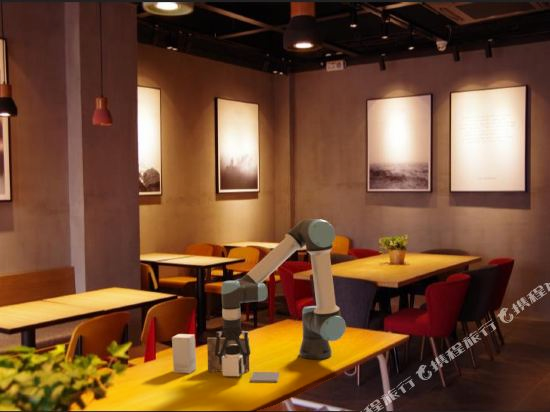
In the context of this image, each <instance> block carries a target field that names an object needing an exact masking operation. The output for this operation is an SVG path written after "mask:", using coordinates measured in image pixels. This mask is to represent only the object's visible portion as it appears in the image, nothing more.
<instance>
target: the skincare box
mask: <svg viewBox="0 0 550 412" xmlns="http://www.w3.org/2000/svg"><path fill="white" fill-rule="evenodd" d="M195 337H196V336H195V334H191V333H190V334H189V333H188V334H187V333H178V334H176V335H174V336H172V337H171V343H172V347H171V348H172V361H173V362H172V365H173V366H172V367H173V373H176V374H177V373H179V374H180V373H181V374H191V373H193V372H195V371H196V370H197V358H196V357H197V356H196V352H197V351H196V338H195Z"/></svg>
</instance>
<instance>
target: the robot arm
mask: <svg viewBox="0 0 550 412" xmlns="http://www.w3.org/2000/svg"><path fill="white" fill-rule="evenodd" d="M335 239H336V231H335V228H334V227H333V225H332V224H331V223H330V222H329V221H327V220H323V219H321V218H320V219H318V218H316V219H315V218H305V219H303V220H301V221H300V222H298V223H297V224H295V225H294V226H293V227H292V228H291V229H290V230H289V231H288V232H287V233H286V234H285V235H284V239H283V240H281V241H280V242H279V243H278V244H277V245H276V246H275V247H273V249H272V250H271V251H270V252H269V253H267V255H265V256H264V257H263V258H262V259H261V260H260V261H259V262H258V263H257V264H256V265H255V266H254V267H252V269H250V270H249V271H248V272H247V273H246V274H245V275H244V276H242V277H241V278H238V279H235V280H226V281H223V282H222V283H221V304H222V308H221V309H222V311H221V313H222V318H223V319H222V330H221V331H219V330H218V331H216V333H215V338H216V347H215V356H218V357H219V364H220V365H222V371H221V373H222V374H223V361H222V360H223V358H224V357H225V356H223V353H224V350H225V347H226V345H227V342H228V341H231V340H233V341H236V342H237V344H238V346H239V349H240V351H241V353H242V357H241V370H242V373H241V374H244V365H246V356H249V357H250V355H251V354H252V353H251V347H250V340H249V341H248V338H249V331H248V330H246V331H245V330H242V327H241V326H242V323H241V322H242V321H241V304H243V303H252V302H253V303H254V302H262V301H266V300H267V298H268V287H267V285H266V284H265V283H263V282H264V281H265V280H266V279H267V278H268V277H270V275H272V273H274V272H275V271H276V270H277V269H278V268H279V267H280V266H281V265H282V264H283V263H284V262H286V260H288V259H289V258H290V257H291V256H292V255H293V254H294V253H295V252H296V251H300V250H301V249H302V248H303V247H305V249H306V252H307V253H308V254H309V255H310V261H311V262H310V263H311V270H312V277H313V278H312V279H313V287H314V294H315V303H316V305H311V306H310V305H309V306H304V307H303V308H302V314H301V316H302V341H301V344H300V347H299V357H300V358H302V359H307V360H323V359H328V358H331V356H332V353H333V351H332V347H331V345H330V342H336V341H338V340H340V339H342V337H343V336H344V334H345V333H346V330H347V325H346V321H345V320H344V318H343V317H342V316H341V309H340V307H339V306H338V305H337V304H336V303H337V302H336V295H335V288H334V286H335V285H334V280H333V277H334V276H333V270H332V263H331V251H332V250H333V242H334V241H335ZM222 335H223V338H225V341H224V344H223V346H222V349H221V352H220V353H219V345H220V338H222V337H221V336H222ZM241 335H242V338H244V340H245V346H246V352H247V353H246V352H245V350H244V347H243V345H242V343H241V340H240V338H241V337H240V336H241Z"/></svg>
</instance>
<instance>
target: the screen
mask: <svg viewBox="0 0 550 412" xmlns="http://www.w3.org/2000/svg"><path fill="white" fill-rule="evenodd" d="M239 338H240V340H241V343H242V345H243V347H244V350H245V352H246V346H245V340H244V337H239ZM206 340H207V347H206V348H207V349H206V350H207V372H208V373H216V372H217V371H218V372H219V371H221V372H222V365H220V364H219V357H218V356H215V347H216V337H207V339H206ZM224 341H225V337H220V345H219V353H220V352H221V349H222V346H223V344H224ZM248 341H249V342H250V337H248ZM231 344H236V345H238V344H237V342H236V341H233V340H231V341H228V342H227V345H231ZM227 345H226V346H227ZM246 353H247V352H246ZM240 355H242V353H241V351H240ZM223 356H226V354H225V350H224V353H223ZM249 371H250V355H249V356H246V365H244V373H248V372H249ZM244 373H243V374H244Z"/></svg>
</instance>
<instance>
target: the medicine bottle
mask: <svg viewBox="0 0 550 412" xmlns="http://www.w3.org/2000/svg"><path fill="white" fill-rule="evenodd" d="M225 354H226V356H225V357H224V358H223V360H222V361H223V373H222V376H223V377H240V376H241V375H242V374H243V373H242V370H241V357H242V355H240V349H239V346H238V345H236V344H231V345H227V346H226V347H225Z"/></svg>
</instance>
